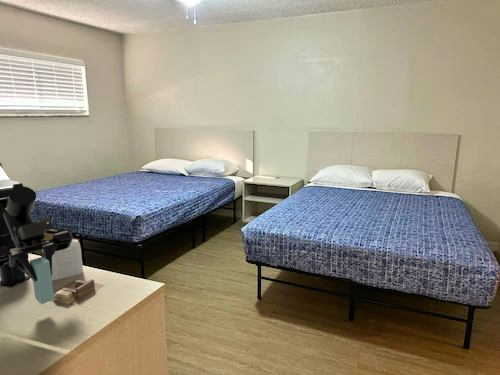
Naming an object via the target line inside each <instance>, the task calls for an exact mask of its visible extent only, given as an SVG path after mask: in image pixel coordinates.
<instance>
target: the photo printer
mask: <svg viewBox="0 0 500 375" xmlns="http://www.w3.org/2000/svg"><path fill="white" fill-rule="evenodd" d="M83 272H84V267H83V259H82V248H81V244H80V241H79V240H78V239H76V238H75V239H74V238H73V240H72V242H71V244H70V246H69V247H68V248H67V249H63V250H60V251H55V253H54V255H52V276H51V278H52V281H57V280H60V279H65V278H69V277H70V278H71V277H73V276H77V275H81V274H83Z"/></svg>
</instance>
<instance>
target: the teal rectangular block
mask: <svg viewBox="0 0 500 375" xmlns="http://www.w3.org/2000/svg"><path fill="white" fill-rule="evenodd" d="M29 262H30V264H31V266H32V268H33V270H34V272H35V274H36V277H37V281H34V280H32V285H33V291H34V296H35V300H36V301H37V302H38V303H39V304H40V305H43V304H47V303H49V302H53V301H52V300H54V293H53V292H54V287H53V280H52V278H51V271H50V264H49V261H48V260H47V259H46V258H44V257H42V256H41V257H37V258H34V259H30V260H29Z"/></svg>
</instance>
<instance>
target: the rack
mask: <svg viewBox="0 0 500 375" xmlns="http://www.w3.org/2000/svg"><path fill="white" fill-rule="evenodd" d="M104 286H105V284H103V283H98V282H97V283H96V282H95V280H94V279H92V278H91V279H89V280H87V281H86V280H82V279H74V280H73V281H70V282H69V283H66V284H65V285H64V286H62V287H59V288H58V289H56V290H55V291H53V293H54V300H52V301H51V302H54V303H59V304H62V305H66V306H67V305H68V306H71V307H72V306H76V305H78V303H80V302H81V301H84V300H85V299H86V298H88V297H89V296H90V295H92V294H93V293H95V292H97V291H98V290H100V289H102V287H104Z"/></svg>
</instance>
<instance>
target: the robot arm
mask: <svg viewBox="0 0 500 375" xmlns="http://www.w3.org/2000/svg"><path fill="white" fill-rule="evenodd" d="M3 168H4V167H3V164H2V163H1V162H0V286H1V287H6V288H13V287H15V286H17V285H19V284H22V283H23V282H25V281H27V280H29V279H31V280H32V281H33V280H34V281H37V277H36V274H35V272H34V270H33V268H32V266H31V264H30V260H29V259H30V258H29V254H33V253H35V252H38V251H41V252H42V253H41V254H42V255H41V257H44V258H46V259H47V260H48V261H49V264H50V271H51V276H52V255H54V253H55V251H60V250H63V249H67V248H68V247H69V246H70V244H71V242H72V240H73V239H74V236H73V234H72V233H71V232H70V231H68V230H63V231H62V232H56V233H54V234H52V238H51V239H49V240H44V239H45V235H46V234H47V231H50V230H52V229H53V227H54V226H53V223H52V220H51V218H50V216H48V217H41V219H39V221H34V219H33V217H32V213H33V212H34V207H35V203H36V199H37V192H36V191H35V190H33V189H32V188H31V187H28V186H24V184H23V183H22V182H19V181H16V180H12V179H11V178H10V177H9V176H8V174H7V173H6V171H5V170H4V169H3ZM43 240H44V241H43Z"/></svg>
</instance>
